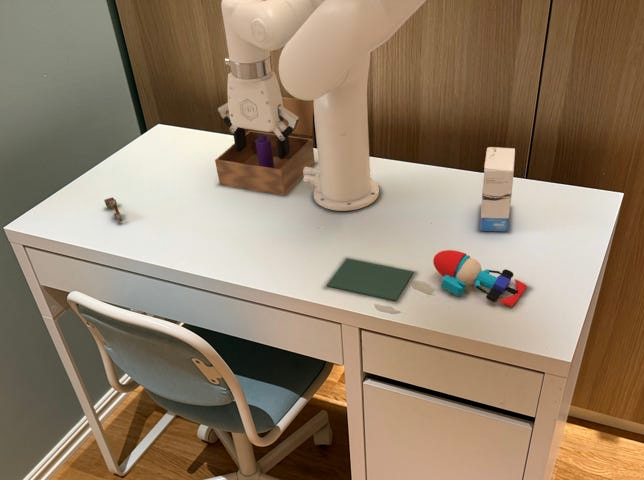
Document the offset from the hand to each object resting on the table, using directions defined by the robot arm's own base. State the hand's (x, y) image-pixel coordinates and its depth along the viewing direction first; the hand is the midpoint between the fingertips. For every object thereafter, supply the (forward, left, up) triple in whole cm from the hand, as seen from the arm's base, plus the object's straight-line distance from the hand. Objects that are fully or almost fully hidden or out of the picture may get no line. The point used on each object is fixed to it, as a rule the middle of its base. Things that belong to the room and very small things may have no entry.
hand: (262, 152), depth 143 cm
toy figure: (+51, -23, -5) cm, 56 cm away
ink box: (+49, -3, -5) cm, 49 cm away
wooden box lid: (0, +8, +5) cm, 9 cm away
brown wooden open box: (+1, 0, -5) cm, 5 cm away
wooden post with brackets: (-21, -23, -5) cm, 31 cm away
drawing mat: (+34, -27, -5) cm, 44 cm away
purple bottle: (+1, 0, -4) cm, 4 cm away
